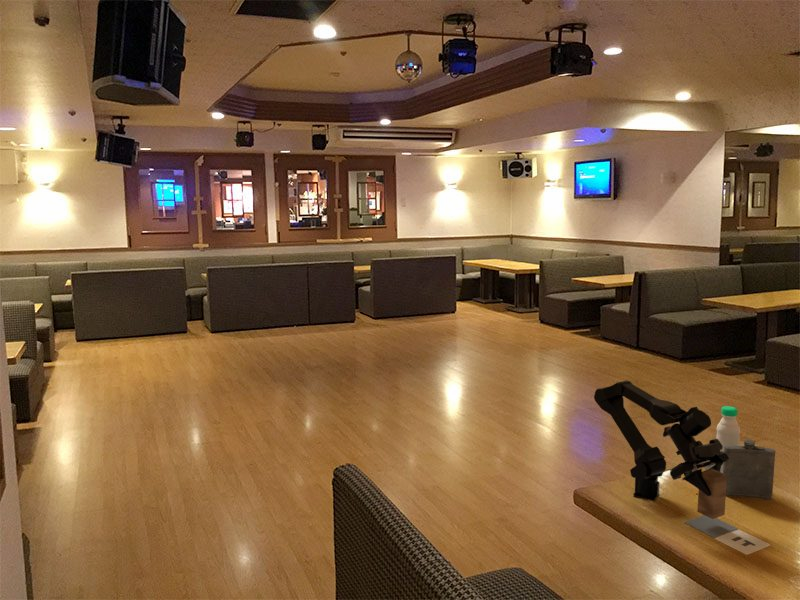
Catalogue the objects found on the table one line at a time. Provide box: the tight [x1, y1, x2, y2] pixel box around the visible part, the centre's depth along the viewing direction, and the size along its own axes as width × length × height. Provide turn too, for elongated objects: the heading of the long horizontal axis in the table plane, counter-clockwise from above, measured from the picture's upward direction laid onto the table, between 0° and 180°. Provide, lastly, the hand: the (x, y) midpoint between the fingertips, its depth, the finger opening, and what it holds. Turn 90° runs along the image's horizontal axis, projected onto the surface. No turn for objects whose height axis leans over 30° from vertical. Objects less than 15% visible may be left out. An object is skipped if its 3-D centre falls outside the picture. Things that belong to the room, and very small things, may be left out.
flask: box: [723, 439, 776, 501], centre depth 207 cm, size 4×14×18 cm, turn 75°
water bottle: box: [715, 405, 741, 473], centre depth 218 cm, size 7×7×25 cm
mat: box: [683, 514, 739, 539], centre depth 190 cm, size 10×10×1 cm
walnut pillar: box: [696, 469, 727, 519], centre depth 188 cm, size 5×5×12 cm
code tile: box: [713, 528, 771, 556], centre depth 181 cm, size 10×10×1 cm
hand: (716, 493), depth 187 cm, fingers closed on walnut pillar, 5 cm apart
